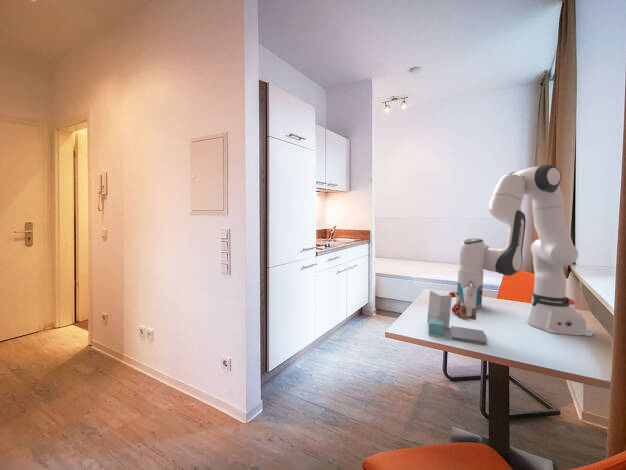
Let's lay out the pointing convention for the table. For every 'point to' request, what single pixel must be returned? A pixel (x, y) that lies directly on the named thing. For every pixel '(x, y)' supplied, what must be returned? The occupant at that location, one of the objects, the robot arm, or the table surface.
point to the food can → (478, 298)
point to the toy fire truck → (456, 309)
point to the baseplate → (468, 335)
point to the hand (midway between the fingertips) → (468, 312)
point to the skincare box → (439, 306)
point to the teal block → (436, 327)
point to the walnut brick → (463, 312)
